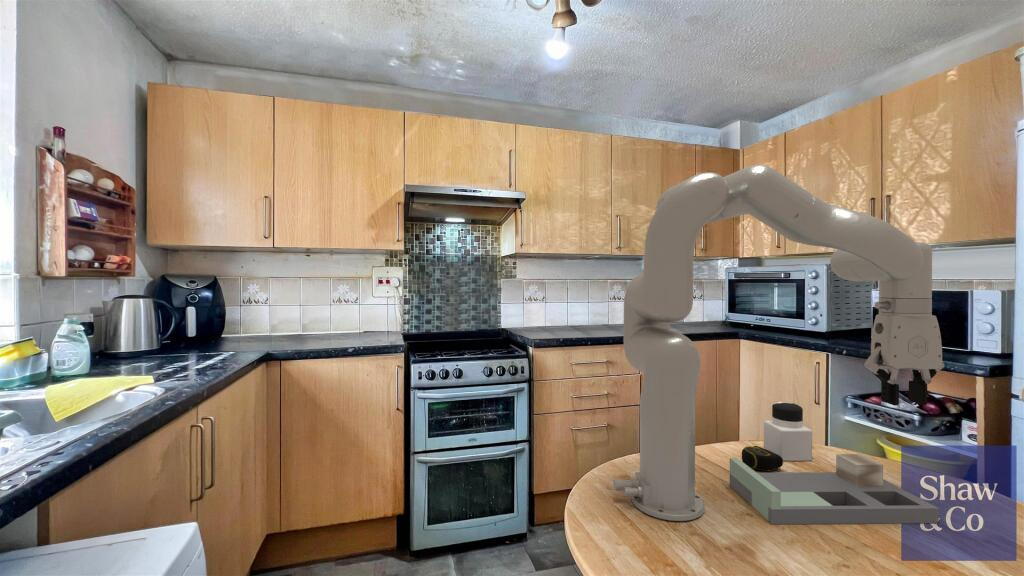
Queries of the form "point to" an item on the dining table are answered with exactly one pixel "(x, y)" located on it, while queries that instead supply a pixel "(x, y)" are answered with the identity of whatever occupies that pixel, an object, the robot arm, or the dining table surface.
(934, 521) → the grey green slotted tray
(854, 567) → the dining table surface
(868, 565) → the dining table surface
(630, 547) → the dining table surface
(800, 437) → the medicine bottle
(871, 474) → the block
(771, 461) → the tape measure
